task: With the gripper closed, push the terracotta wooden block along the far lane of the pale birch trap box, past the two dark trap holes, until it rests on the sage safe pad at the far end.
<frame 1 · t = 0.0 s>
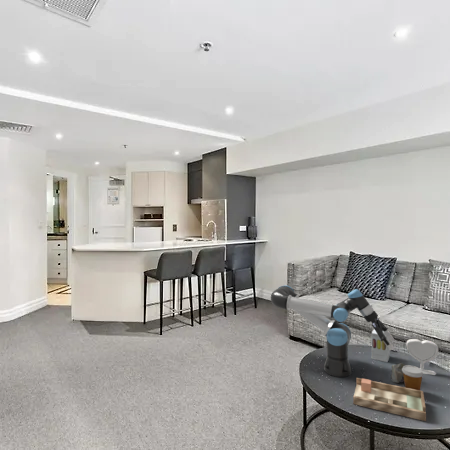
hand: (392, 345, 186), 15 cm above the table, tool tilted 35°, fingers open, 13 cm apart
disposable coffee cup: (412, 392, 164), on the table
terracotta block: (366, 389, 163), point 2 cm above the table, touching trap box
trap box: (388, 403, 155), on the table
supplement box: (380, 358, 203), on the table
heart sculpture: (422, 371, 185), on the table
mineral rock: (403, 380, 175), on the table
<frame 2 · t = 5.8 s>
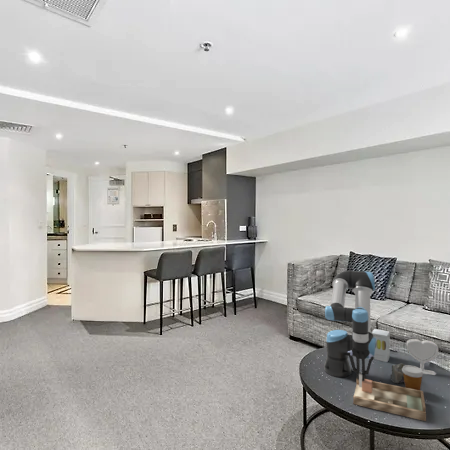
hand: (360, 385, 163), 4 cm above the table, tool pointing down, fingers closed
terracotta block: (367, 389, 162), point 3 cm above the table, touching gripper
everything else where it was.
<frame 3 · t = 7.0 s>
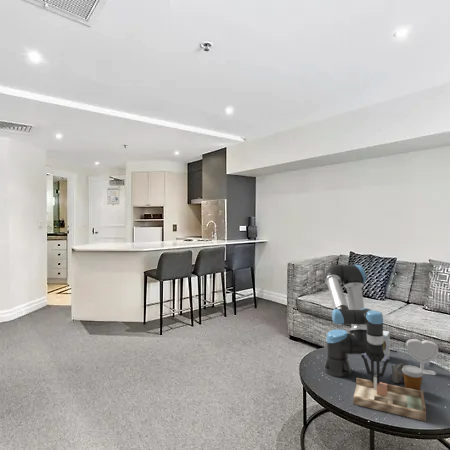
hand: (375, 388, 160), 4 cm above the table, tool pointing down, fingers closed
terracotta block: (382, 393, 159), point 3 cm above the table, touching gripper
everything else where it was.
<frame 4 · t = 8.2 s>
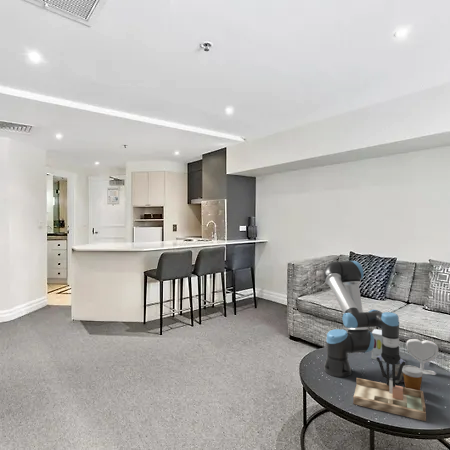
hand: (391, 392, 157), 4 cm above the table, tool pointing down, fingers closed
terracotta block: (397, 396, 156), point 2 cm above the table, touching gripper, trap box
everything else where it was.
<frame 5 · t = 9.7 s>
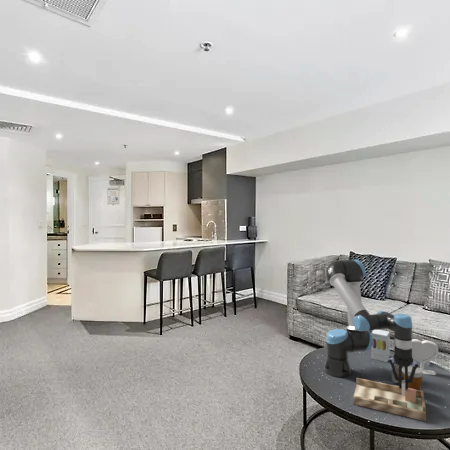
hand: (403, 394, 155), 4 cm above the table, tool pointing down, fingers closed
terracotta block: (410, 399, 153), point 3 cm above the table, touching gripper, trap box
everything else where it was.
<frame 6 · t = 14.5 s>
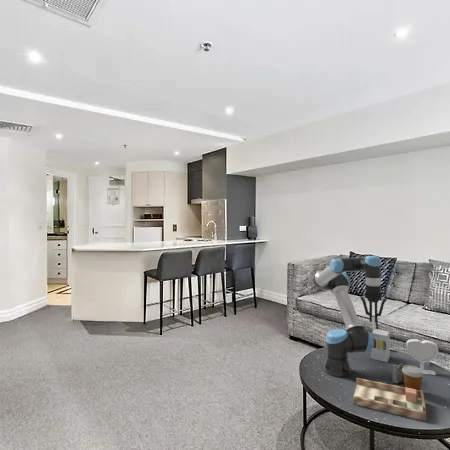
hand: (373, 328, 172), 30 cm above the table, tool pointing down, fingers closed
terracotta block: (410, 399, 153), point 2 cm above the table, touching trap box
at the end: terracotta block 0.9 cm from the target spot on the trap box, point 2.5 cm above the trap box's base; terracotta block tilted 0°; the gripper is holding nothing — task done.
